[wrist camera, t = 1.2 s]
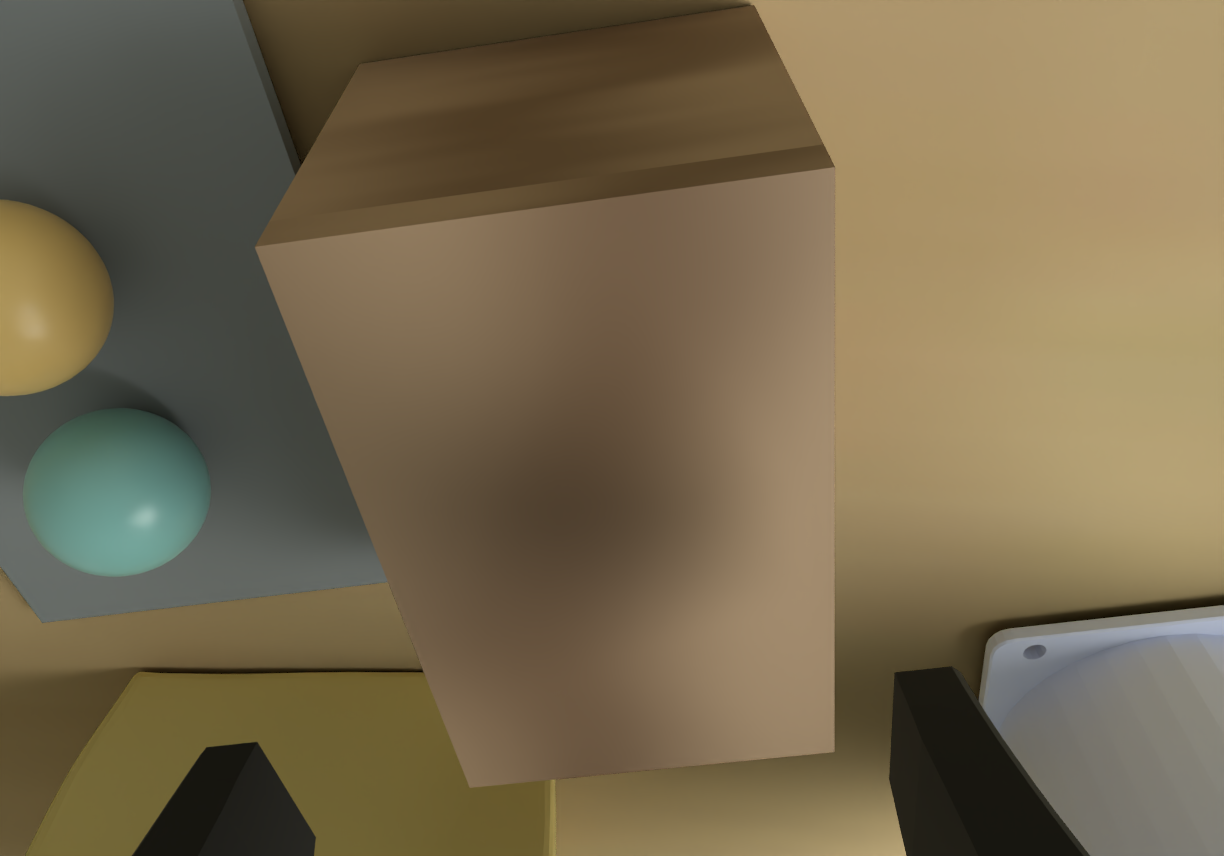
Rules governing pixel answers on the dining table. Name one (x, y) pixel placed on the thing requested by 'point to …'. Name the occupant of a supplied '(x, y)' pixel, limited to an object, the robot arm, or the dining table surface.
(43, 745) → the dining table surface
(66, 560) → the marble teal
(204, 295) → the mat
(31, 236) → the marble amber
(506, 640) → the walnut cover
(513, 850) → the cheese
